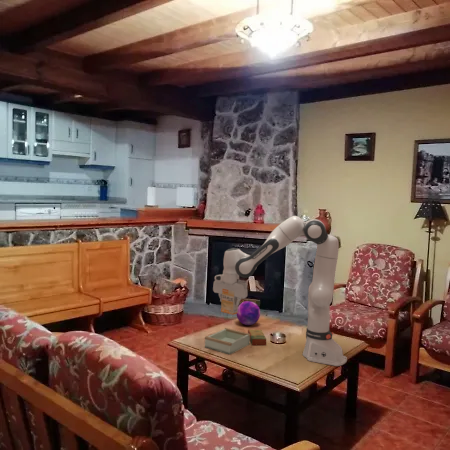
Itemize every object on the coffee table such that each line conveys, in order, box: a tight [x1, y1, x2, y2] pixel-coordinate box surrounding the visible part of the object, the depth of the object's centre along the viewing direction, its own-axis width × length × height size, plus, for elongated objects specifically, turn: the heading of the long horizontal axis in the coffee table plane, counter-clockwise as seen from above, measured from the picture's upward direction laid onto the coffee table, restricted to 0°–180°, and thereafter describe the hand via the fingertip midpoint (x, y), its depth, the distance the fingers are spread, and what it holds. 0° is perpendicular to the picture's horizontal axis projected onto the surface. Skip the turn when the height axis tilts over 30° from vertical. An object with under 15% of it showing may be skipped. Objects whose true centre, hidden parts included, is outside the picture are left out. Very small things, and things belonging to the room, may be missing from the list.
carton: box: [247, 329, 267, 347], centre depth 251 cm, size 8×16×4 cm, turn 5°
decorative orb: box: [236, 300, 261, 326], centre depth 280 cm, size 15×15×15 cm
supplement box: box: [220, 289, 239, 316], centre depth 239 cm, size 8×5×13 cm, turn 53°
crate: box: [204, 327, 251, 356], centre depth 241 cm, size 16×20×6 cm
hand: (229, 303), depth 239 cm, fingers closed on supplement box, 8 cm apart
